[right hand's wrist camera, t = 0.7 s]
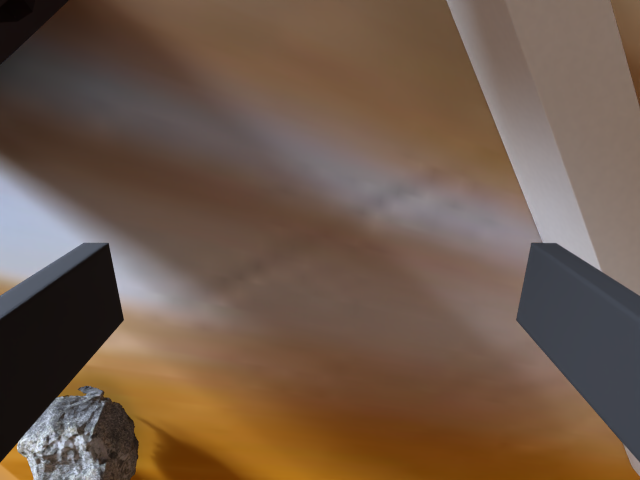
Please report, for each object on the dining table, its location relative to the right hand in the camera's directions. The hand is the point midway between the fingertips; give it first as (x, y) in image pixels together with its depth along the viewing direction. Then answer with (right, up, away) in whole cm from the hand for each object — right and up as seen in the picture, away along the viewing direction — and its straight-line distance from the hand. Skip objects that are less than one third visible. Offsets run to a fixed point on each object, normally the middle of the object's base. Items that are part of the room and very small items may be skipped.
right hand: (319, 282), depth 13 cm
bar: (+23, 0, +23) cm, 32 cm away
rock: (-23, -18, +29) cm, 41 cm away
